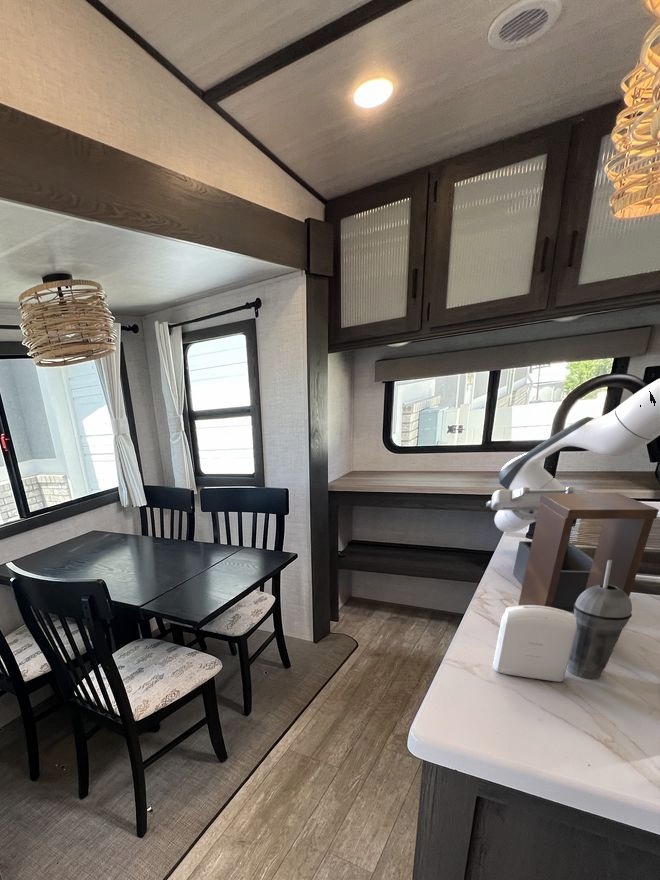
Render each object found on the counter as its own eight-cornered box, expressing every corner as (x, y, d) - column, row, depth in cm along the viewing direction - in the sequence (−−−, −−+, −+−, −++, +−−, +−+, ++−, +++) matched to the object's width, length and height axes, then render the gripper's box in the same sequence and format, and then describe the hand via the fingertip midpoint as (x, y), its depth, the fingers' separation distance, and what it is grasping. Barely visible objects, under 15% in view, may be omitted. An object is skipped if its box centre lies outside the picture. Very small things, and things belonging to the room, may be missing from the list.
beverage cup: (623, 680, 76) (662, 563, 68) (584, 686, 75) (619, 569, 67) (583, 657, 82) (614, 549, 74) (546, 663, 81) (574, 555, 74)
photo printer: (492, 673, 80) (505, 608, 75) (491, 661, 83) (504, 598, 78) (565, 685, 75) (585, 617, 70) (561, 672, 79) (579, 606, 74)
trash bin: (561, 575, 116) (569, 541, 113) (601, 612, 97) (612, 573, 94) (512, 574, 119) (519, 541, 116) (542, 609, 100) (551, 571, 97)
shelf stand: (581, 621, 94) (617, 492, 84) (613, 654, 83) (659, 509, 72) (514, 618, 98) (541, 493, 87) (535, 648, 86) (569, 509, 76)
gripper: (484, 495, 129) (500, 477, 116) (570, 494, 123) (598, 475, 110) (483, 517, 128) (500, 502, 115) (570, 517, 123) (598, 501, 110)
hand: (548, 489), depth 113 cm, fingers open, 8 cm apart
